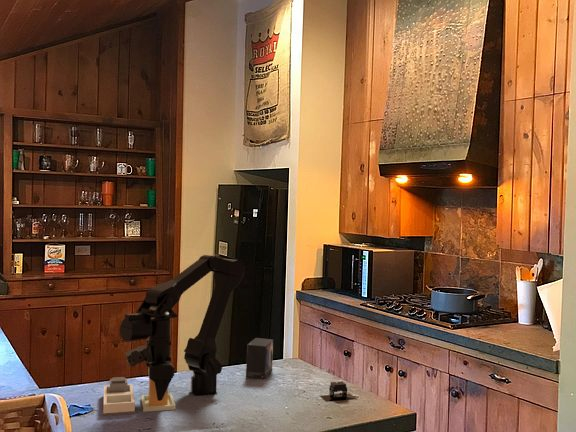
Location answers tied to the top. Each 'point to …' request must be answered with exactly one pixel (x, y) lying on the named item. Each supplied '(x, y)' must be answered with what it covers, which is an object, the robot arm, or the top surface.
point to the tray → (146, 406)
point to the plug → (153, 396)
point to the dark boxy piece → (339, 396)
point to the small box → (259, 358)
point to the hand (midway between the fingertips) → (158, 395)
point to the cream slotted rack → (118, 397)
